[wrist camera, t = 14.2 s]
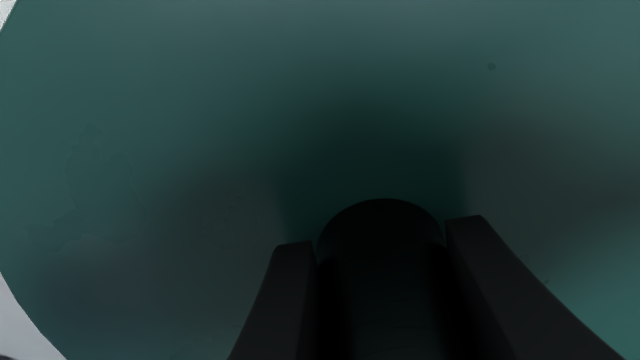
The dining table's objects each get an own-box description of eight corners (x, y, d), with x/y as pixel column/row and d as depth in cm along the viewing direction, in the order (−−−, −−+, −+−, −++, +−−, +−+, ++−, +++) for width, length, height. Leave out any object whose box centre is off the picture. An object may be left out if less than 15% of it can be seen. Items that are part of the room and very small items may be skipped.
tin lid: (-98, 284, 13) (-280, 530, 9) (259, -528, 7) (194, -1024, 2) (414, 476, 18) (448, 688, 14) (904, 130, 12) (1241, 339, 8)
